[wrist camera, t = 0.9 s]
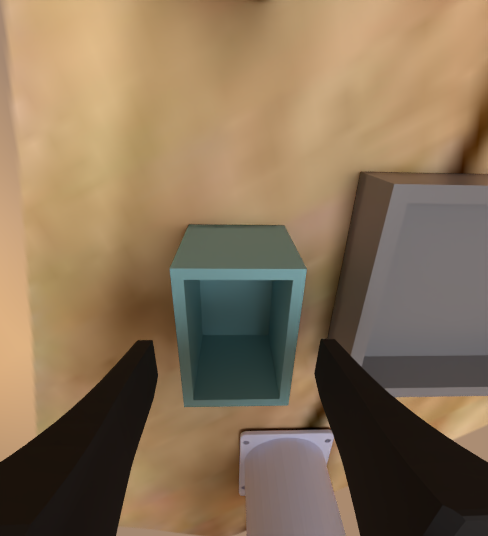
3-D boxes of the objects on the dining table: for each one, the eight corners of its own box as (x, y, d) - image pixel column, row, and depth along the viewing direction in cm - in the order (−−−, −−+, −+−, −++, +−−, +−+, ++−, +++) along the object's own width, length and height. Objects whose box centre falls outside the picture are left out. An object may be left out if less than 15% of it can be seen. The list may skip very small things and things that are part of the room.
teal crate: (274, 335, 20) (288, 405, 15) (196, 336, 20) (184, 407, 15) (284, 225, 16) (306, 269, 11) (188, 224, 16) (169, 268, 11)
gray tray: (519, 355, 21) (568, 394, 18) (323, 357, 21) (340, 397, 18) (628, 176, 16) (726, 189, 13) (360, 171, 15) (394, 184, 12)
